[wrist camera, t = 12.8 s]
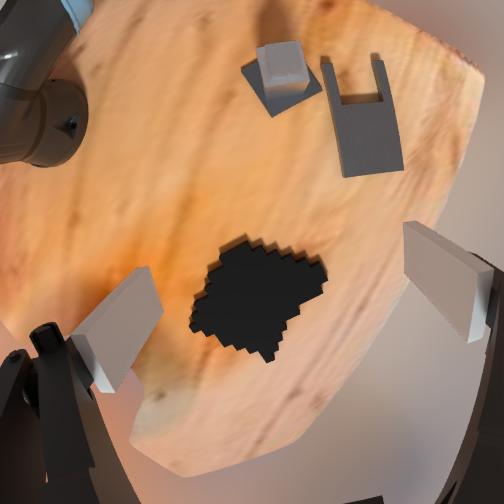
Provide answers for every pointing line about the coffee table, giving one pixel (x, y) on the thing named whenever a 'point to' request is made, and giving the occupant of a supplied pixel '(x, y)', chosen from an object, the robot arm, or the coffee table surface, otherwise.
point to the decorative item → (255, 298)
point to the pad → (279, 103)
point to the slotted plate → (365, 128)
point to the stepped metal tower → (282, 69)
